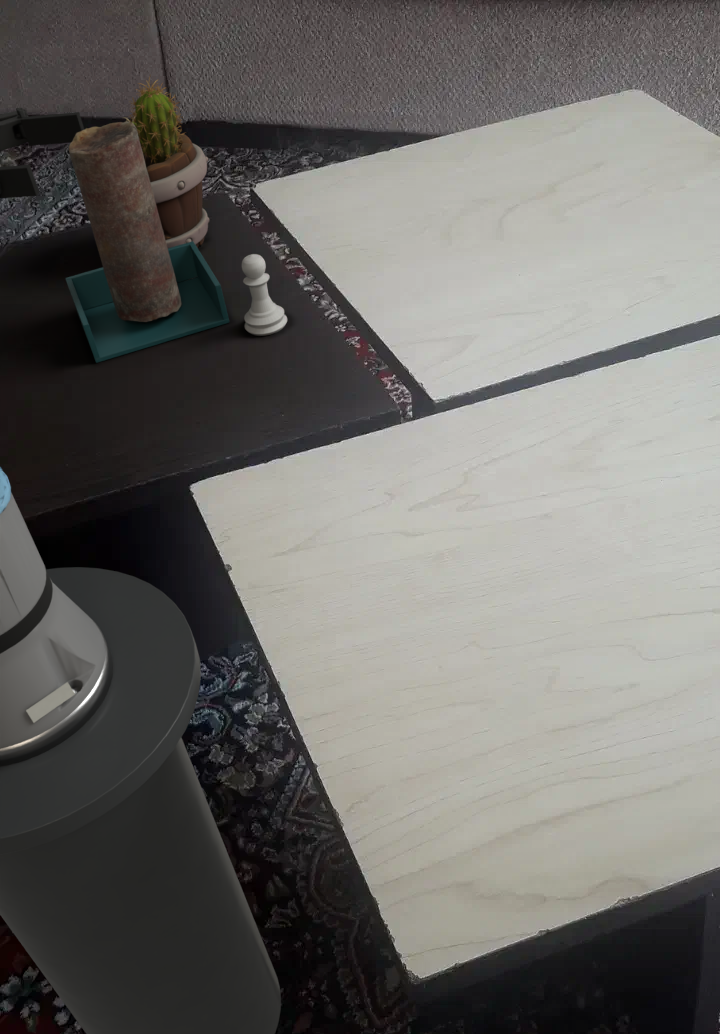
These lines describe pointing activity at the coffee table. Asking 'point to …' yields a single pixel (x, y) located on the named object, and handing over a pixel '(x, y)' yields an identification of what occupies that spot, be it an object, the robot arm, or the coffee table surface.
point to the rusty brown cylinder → (125, 221)
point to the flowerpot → (171, 167)
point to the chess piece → (260, 299)
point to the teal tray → (124, 336)
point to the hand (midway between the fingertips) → (59, 152)
